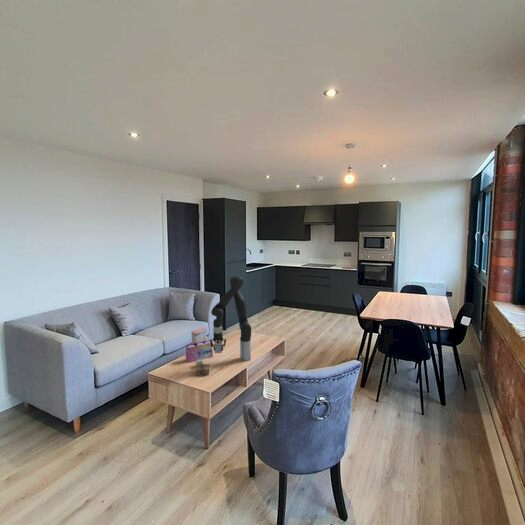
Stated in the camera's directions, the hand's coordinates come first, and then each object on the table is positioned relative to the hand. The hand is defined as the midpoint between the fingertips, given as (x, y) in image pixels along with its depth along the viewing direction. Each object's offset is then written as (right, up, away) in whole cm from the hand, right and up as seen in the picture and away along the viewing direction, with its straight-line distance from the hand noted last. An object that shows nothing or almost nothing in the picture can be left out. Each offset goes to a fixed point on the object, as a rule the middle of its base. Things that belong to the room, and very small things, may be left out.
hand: (218, 351), depth 267 cm
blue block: (0, -1, 0) cm, 1 cm away
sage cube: (-17, -14, +3) cm, 22 cm away
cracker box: (-23, -10, +34) cm, 42 cm away
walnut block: (-11, -15, -9) cm, 21 cm away
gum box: (-20, -12, +19) cm, 30 cm away
